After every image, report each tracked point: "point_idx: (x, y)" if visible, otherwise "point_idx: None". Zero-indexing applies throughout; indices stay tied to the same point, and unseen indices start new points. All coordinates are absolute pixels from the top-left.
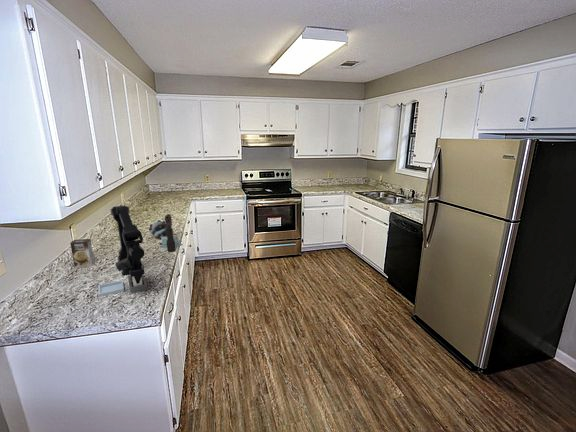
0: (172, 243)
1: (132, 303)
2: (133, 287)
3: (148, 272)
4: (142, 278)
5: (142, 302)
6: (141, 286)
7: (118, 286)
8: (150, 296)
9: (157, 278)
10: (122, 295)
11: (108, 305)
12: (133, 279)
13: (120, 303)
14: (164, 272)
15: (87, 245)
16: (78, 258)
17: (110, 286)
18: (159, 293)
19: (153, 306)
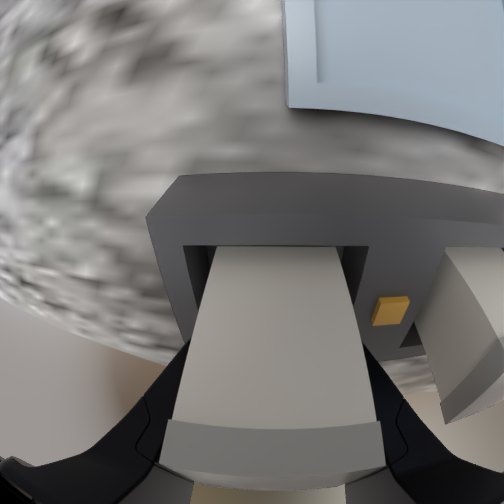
0: None
1: (29, 194)
2: (158, 257)
3: None
4: (381, 348)
5: (39, 254)
6: (181, 322)
7: (466, 79)
8: (106, 306)
9: (386, 364)
10: (202, 80)
11: (50, 5)
12: (187, 367)
13: (41, 97)
14: (425, 381)
15: None
16: None
17: (496, 24)
18: (139, 347)
19: (17, 292)
